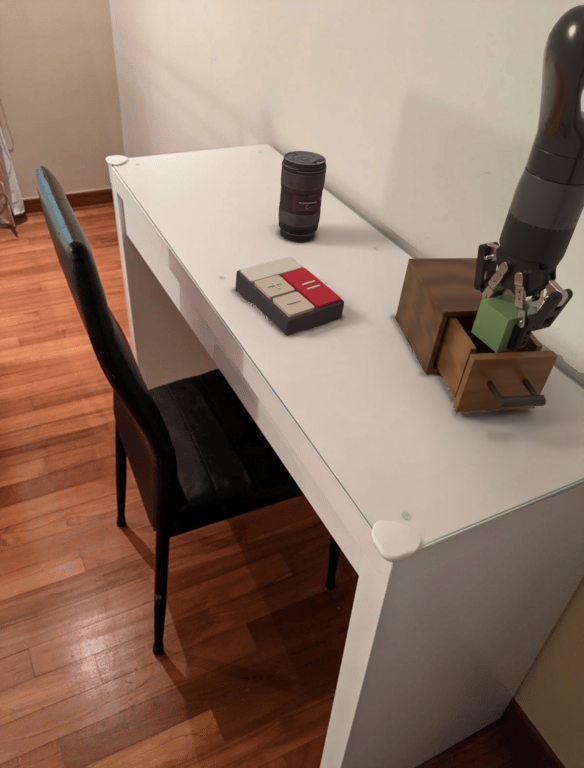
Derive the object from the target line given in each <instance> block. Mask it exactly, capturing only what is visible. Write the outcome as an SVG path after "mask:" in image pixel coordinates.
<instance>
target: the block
mask: <svg viewBox="0 0 584 768" xmlns="http://www.w3.org/2000/svg"><path fill="white" fill-rule="evenodd" d="M528 316H529V309H528ZM515 324H517V308H515V296H514V295H513V294H511V293H509V294H504V295H500V296H496V297H491V298H487V299H483V300H481V303H480V306H479V310H478V313H477V316H476V319H475V322H474V325H473V328H472V331H471V332H472V333H473V334H474V335H475V336H477V337H478V338H479V339H480V340H481V341H483V342H484V343H485V344H486V345H487V346H489V347H490V348H491V349H492V350H493V351H495V352H496V353H499V352H502V351H506V350H510V349H508V348H507V344H508V342H509V339H510V337H511V334H512V331H513V329H514V326H515Z"/></svg>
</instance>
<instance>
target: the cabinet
mask: <svg viewBox="0 0 584 768" xmlns="http://www.w3.org/2000/svg"><path fill="white" fill-rule="evenodd" d="M407 260H408V262H407V266H406V271H405V274H404V278H403V282H402V287H401V292H400V295H399V299H398V304H397V309H396V314H395V319H396V321H397V323H398V325H399V327H400V329H401V331H402V332H403V335H404V336H405V338H406V340H407V342H408V343H409V345H410V348H411V349H412V351H413V353H414V354H415V357H416V359H417V360H418V362H419V364H420V365H421V367H422V369H423V371H424V373H425V375H430V374H431V375H432V374H440V372H439V370H438V369H437V367H436V365H435V363H434V361H435V358H436V355H437V351H438V348H439V344H440V341H441V338H442V334H443V331H444V327H445V324H446V321H447V317H448V316H477V313H478V310H479V306H480V303H481V300H483V299H482V293H481V291H480V290H476V289H475V287H474V281H475V272H476V263H477V257H449V258H448V257H445V258H444V257H443V258H441V257H439V258H436V257H435V258H431V257H430V258H429V257H428V258H427V257H425V258H408V259H407ZM497 270H498V269H496V271H497ZM486 273H487V272H485V276H484V279H486ZM509 293H511V294H513V293H512V292H511V291H510V290H508V289H507V291H506V292H505V293H504V294H509ZM504 294H503V295H504ZM513 295H514V294H513ZM514 296H515V295H514Z"/></svg>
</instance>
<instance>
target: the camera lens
mask: <svg viewBox="0 0 584 768" xmlns="http://www.w3.org/2000/svg"><path fill="white" fill-rule="evenodd" d="M280 171H281V172H280V193H279V205H278V214H277V215H278V228H279V234H280V236H281V237H282V238H283V240H286V241H289V242H292V243H293V242H294V243H306V242H310V241H312V240H313V239H314V238H315V236H316V235H315V234H316V231H318V228H319V223H320V219H321V213H322V211H321V209H322V199H323V191H324V187H325V183H326V176H327V175H326V174H327V159H326V157H325V156H324V155H322V154H320V153H317V152H313V151H307V150H294V151H289V152H286V153H285V154H284V155H283V159H282V161H281V170H280Z"/></svg>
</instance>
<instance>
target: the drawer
mask: <svg viewBox="0 0 584 768" xmlns="http://www.w3.org/2000/svg"><path fill="white" fill-rule="evenodd" d="M475 319H476V316H448V317H447V321H446V324H445V327H444V331H443V334H442V338H441V341H440V344H439V348H438V351H437V355H436V358H435V361H434V363H435V365H436V367H437V369H438V370H439V372H440V373H439V374H440V376H441V377H442V380H443V381H444V383H445V385H446V386H447V388H448V390H449V392H450V393H451V395H452V397H453V398H454V401H453V405H452V409H453V410H454V412H455V413H456V414H457V413H473V412H489V411H491V412H492V411H507V410H525V409H526V410H527V409H535V407H544V406H546V401H547V399H546V397H545V395H544V394H542V393H543V390H544V388H545V386H546V383H547V381H548V379H549V376H550V374H551V372H552V370H553V368H554V365H555V363H556V361H557V359H558V357H559V356H558V354H557V353H556V352H555V351H554V350H542V349H543V344H542V343H541V342H540V341H539V339H538V338H537V337H536V336H535V334H533V331H532V332H531V335H530V337H529V340H528V342H527V345H525V346H524V347H522V348H520V349H516V350H513V351H511V350H506V351H502V352H499V353H496V352H495V351H493V350H492V349H491V348H490V347H489V346H487V345H486V344H485V343H484V342H483V341H481V340H480V339H479V338H478V337H477V336H475V335H474V334H473V333H472V332H471V331H472V328H473V325H474V322H475Z"/></svg>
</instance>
